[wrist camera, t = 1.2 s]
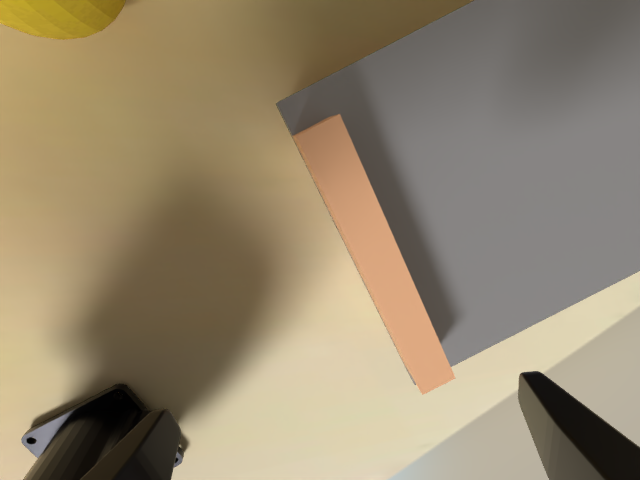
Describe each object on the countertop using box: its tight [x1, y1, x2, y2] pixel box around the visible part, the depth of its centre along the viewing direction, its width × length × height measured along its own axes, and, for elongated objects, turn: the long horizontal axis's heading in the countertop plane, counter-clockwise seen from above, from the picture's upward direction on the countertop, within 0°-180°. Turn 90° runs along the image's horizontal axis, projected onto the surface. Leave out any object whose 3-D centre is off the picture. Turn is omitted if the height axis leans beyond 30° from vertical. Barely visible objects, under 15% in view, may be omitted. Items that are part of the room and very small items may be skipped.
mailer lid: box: [276, 0, 640, 395], centre depth 15 cm, size 15×15×3 cm
